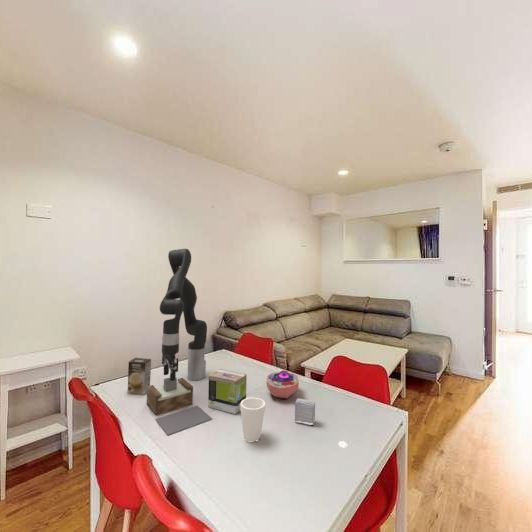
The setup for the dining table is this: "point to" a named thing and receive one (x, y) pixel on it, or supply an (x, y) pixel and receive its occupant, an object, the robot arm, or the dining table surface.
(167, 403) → the walnut box
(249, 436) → the foam cup
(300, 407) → the medicine box
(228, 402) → the tea box
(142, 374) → the coffee box
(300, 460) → the dining table surface
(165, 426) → the rubber mat
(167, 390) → the cover plate
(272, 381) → the cell model
